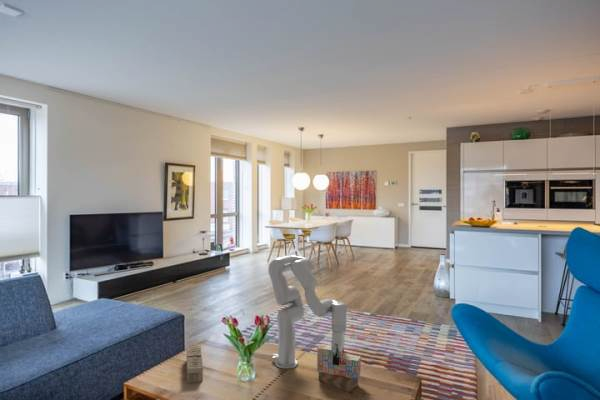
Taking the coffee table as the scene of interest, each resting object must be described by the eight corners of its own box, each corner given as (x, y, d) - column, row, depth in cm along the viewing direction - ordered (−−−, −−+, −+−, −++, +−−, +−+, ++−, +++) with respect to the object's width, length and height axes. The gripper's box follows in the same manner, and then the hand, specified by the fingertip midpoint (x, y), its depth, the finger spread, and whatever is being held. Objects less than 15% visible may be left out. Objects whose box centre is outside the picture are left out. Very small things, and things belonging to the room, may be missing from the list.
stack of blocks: (360, 374, 183) (361, 350, 183) (357, 380, 177) (358, 355, 177) (320, 366, 191) (321, 343, 191) (316, 371, 186) (317, 347, 186)
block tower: (186, 361, 207) (186, 385, 179) (186, 347, 207) (186, 367, 179) (200, 360, 209) (203, 382, 181) (200, 345, 210) (203, 365, 182)
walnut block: (318, 380, 187) (318, 370, 187) (328, 374, 193) (328, 364, 193) (347, 392, 175) (348, 382, 175) (357, 385, 182) (357, 375, 182)
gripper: (335, 321, 194) (335, 353, 194) (327, 331, 178) (326, 366, 177) (349, 322, 191) (349, 355, 191) (342, 333, 175) (341, 369, 175)
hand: (338, 360), depth 184 cm, fingers open, 9 cm apart
